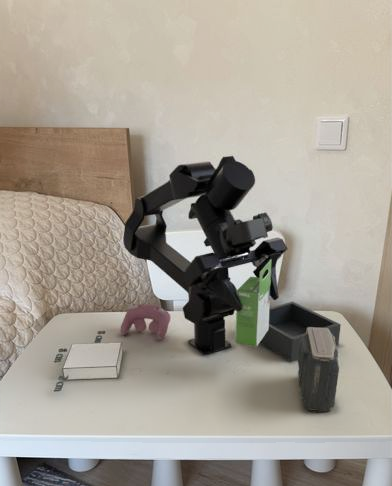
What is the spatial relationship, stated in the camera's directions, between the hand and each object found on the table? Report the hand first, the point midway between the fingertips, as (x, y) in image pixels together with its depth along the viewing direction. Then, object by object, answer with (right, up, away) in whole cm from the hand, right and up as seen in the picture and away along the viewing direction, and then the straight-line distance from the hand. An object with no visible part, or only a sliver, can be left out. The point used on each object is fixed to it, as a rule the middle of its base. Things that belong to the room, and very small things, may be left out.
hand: (258, 304), depth 86 cm
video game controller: (-21, -5, +22) cm, 31 cm away
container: (-30, -11, +10) cm, 34 cm away
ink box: (-1, -6, +4) cm, 7 cm away
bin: (+9, -6, +18) cm, 21 cm away
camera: (+9, -15, 0) cm, 18 cm away
